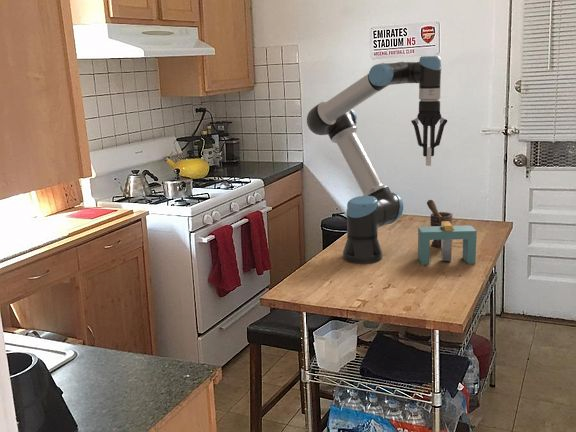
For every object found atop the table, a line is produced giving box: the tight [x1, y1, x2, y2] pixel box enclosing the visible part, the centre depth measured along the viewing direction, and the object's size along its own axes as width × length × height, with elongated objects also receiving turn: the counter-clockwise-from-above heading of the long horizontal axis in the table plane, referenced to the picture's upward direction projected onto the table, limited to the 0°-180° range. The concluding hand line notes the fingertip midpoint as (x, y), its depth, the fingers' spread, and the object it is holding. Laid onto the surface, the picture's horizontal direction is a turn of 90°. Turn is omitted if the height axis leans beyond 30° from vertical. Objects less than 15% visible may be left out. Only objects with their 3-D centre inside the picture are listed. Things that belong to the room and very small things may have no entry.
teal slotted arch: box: [417, 225, 478, 266], centre depth 249 cm, size 20×8×12 cm, turn 88°
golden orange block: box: [440, 221, 454, 262], centre depth 249 cm, size 3×7×14 cm, turn 178°
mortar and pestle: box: [426, 199, 453, 249], centre depth 266 cm, size 12×9×20 cm
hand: (428, 165), depth 244 cm, fingers closed
